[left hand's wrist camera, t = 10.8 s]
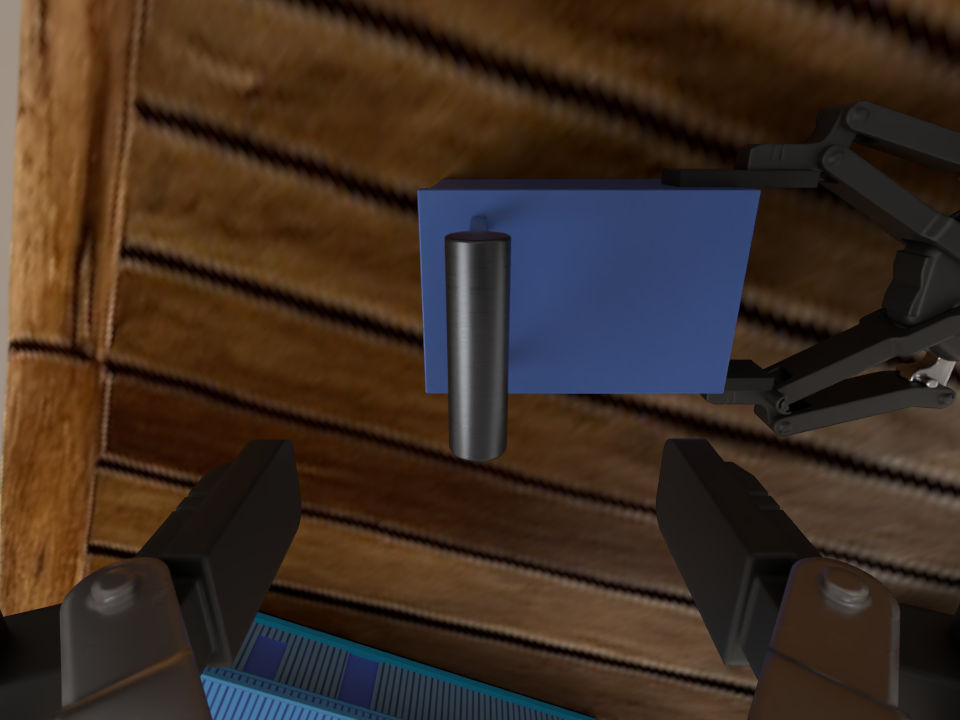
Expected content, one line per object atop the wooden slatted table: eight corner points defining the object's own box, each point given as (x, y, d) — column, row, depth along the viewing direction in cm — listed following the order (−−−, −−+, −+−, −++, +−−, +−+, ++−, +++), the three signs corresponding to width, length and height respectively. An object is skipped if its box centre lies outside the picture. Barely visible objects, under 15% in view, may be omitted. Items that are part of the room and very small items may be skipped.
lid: (427, 385, 28) (404, 485, 19) (419, 187, 24) (387, 206, 16) (715, 385, 28) (815, 486, 19) (750, 188, 24) (893, 207, 16)
